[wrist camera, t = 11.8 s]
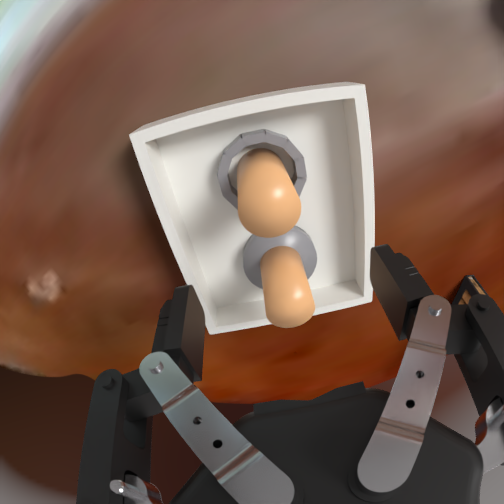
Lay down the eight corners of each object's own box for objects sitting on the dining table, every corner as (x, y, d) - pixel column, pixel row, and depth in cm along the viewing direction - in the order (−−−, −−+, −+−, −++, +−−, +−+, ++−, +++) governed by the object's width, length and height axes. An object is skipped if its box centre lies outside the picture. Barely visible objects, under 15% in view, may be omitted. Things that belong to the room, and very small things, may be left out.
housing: (211, 309, 36) (207, 371, 28) (143, 125, 24) (103, 152, 16) (360, 278, 34) (387, 335, 27) (347, 81, 22) (396, 90, 15)
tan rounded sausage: (243, 195, 27) (245, 243, 20) (232, 153, 25) (230, 188, 18) (287, 186, 27) (305, 230, 20) (278, 143, 24) (296, 174, 18)
